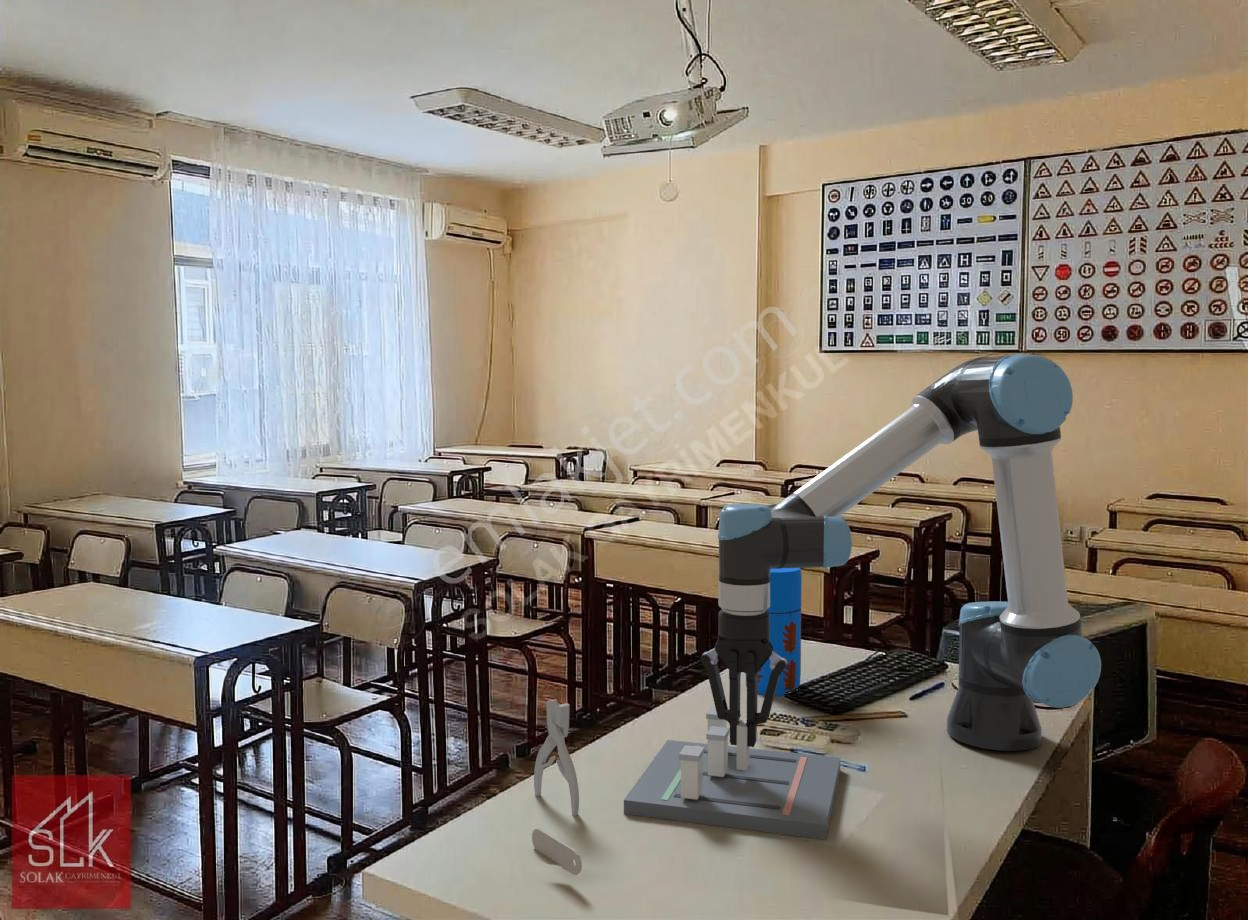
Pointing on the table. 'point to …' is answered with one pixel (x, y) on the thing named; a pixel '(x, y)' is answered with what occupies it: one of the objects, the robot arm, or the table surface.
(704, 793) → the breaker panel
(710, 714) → the block
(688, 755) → the block
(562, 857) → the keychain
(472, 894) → the table surface
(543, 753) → the pliers
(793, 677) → the thermos
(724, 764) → the block
